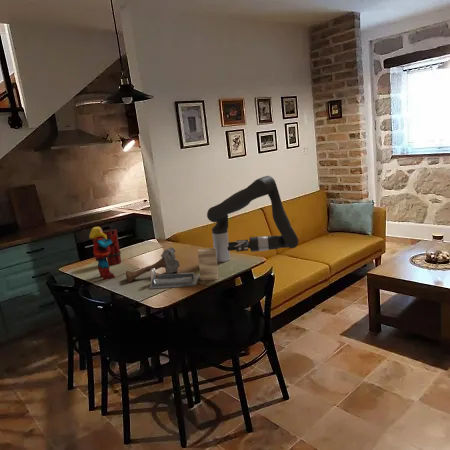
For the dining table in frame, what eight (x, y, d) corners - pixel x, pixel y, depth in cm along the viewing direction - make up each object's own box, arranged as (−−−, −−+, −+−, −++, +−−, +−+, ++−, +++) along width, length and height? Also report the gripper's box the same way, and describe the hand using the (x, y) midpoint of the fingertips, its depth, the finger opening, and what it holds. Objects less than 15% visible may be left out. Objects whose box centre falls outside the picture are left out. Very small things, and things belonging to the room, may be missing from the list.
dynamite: (104, 263, 261) (97, 218, 255) (117, 260, 267) (111, 215, 260) (111, 266, 254) (104, 219, 247) (124, 262, 259) (117, 216, 253)
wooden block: (201, 277, 218) (198, 249, 214) (218, 276, 217) (215, 247, 214) (200, 280, 214) (197, 251, 211) (217, 279, 213) (214, 249, 210)
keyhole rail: (155, 279, 222) (153, 265, 220) (199, 276, 220) (197, 262, 218) (149, 289, 208) (147, 274, 206) (196, 285, 206) (194, 270, 204)
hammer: (127, 282, 230) (177, 265, 238) (131, 291, 221) (183, 273, 230) (120, 260, 223) (172, 243, 232) (124, 269, 215) (177, 251, 223)
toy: (126, 276, 231) (119, 225, 225) (100, 283, 223) (92, 230, 217) (118, 270, 243) (111, 222, 237) (93, 277, 236) (85, 226, 230)
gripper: (258, 233, 216) (227, 236, 217) (258, 240, 202) (226, 242, 203) (259, 247, 217) (229, 250, 219) (260, 254, 204) (228, 257, 205)
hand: (228, 246), depth 211 cm, fingers open, 8 cm apart
